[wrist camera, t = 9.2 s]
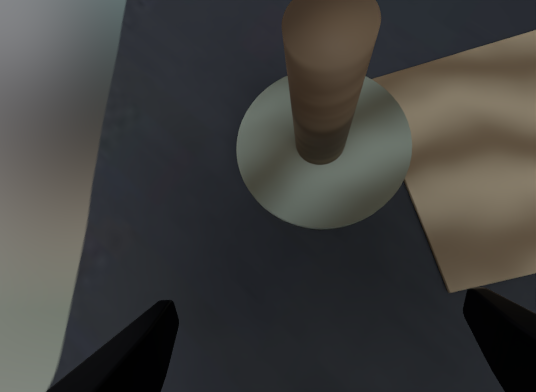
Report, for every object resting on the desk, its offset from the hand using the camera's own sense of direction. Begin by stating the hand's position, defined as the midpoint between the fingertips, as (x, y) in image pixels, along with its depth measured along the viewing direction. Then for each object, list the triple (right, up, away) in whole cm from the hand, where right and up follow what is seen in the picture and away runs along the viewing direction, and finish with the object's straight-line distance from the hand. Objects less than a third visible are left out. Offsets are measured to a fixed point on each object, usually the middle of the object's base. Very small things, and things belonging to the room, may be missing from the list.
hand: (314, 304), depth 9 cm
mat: (+17, +7, +13) cm, 22 cm away
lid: (+2, +7, +12) cm, 14 cm away
